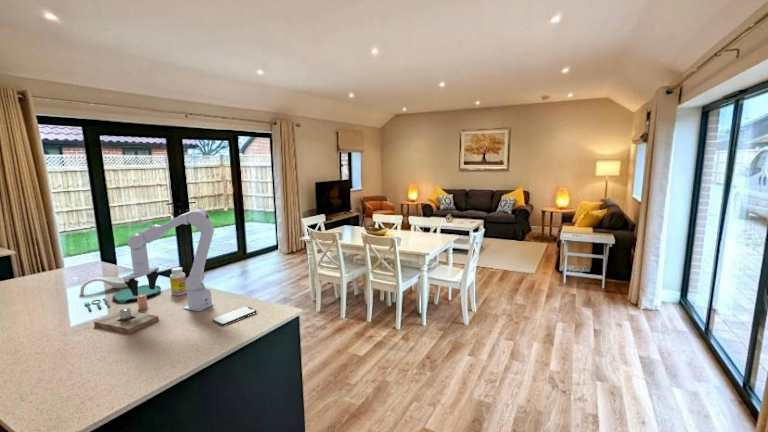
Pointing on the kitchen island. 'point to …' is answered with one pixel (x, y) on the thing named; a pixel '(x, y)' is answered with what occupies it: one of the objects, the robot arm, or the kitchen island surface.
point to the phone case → (234, 315)
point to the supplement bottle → (178, 281)
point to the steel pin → (125, 314)
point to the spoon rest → (111, 281)
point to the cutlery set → (128, 295)
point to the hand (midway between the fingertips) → (144, 292)
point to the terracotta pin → (142, 302)
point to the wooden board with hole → (128, 327)
